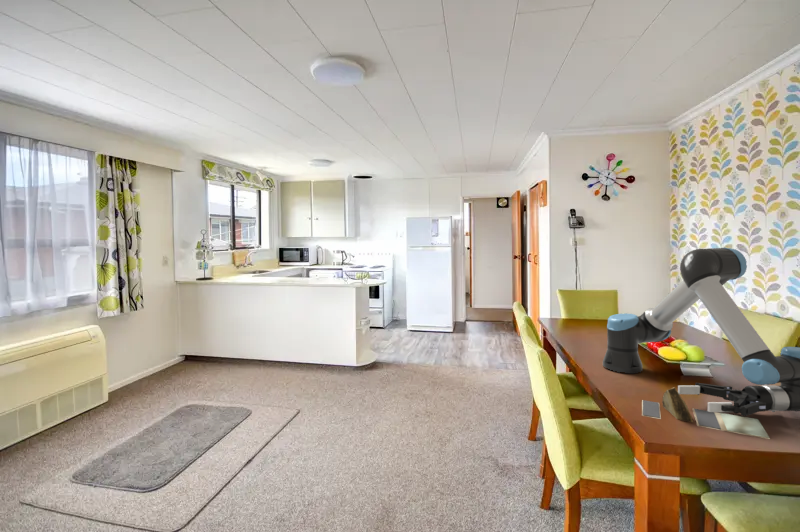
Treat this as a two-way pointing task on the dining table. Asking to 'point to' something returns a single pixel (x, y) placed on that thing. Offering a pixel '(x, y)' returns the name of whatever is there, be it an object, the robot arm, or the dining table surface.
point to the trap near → (651, 409)
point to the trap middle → (707, 419)
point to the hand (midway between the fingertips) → (692, 398)
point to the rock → (676, 405)
